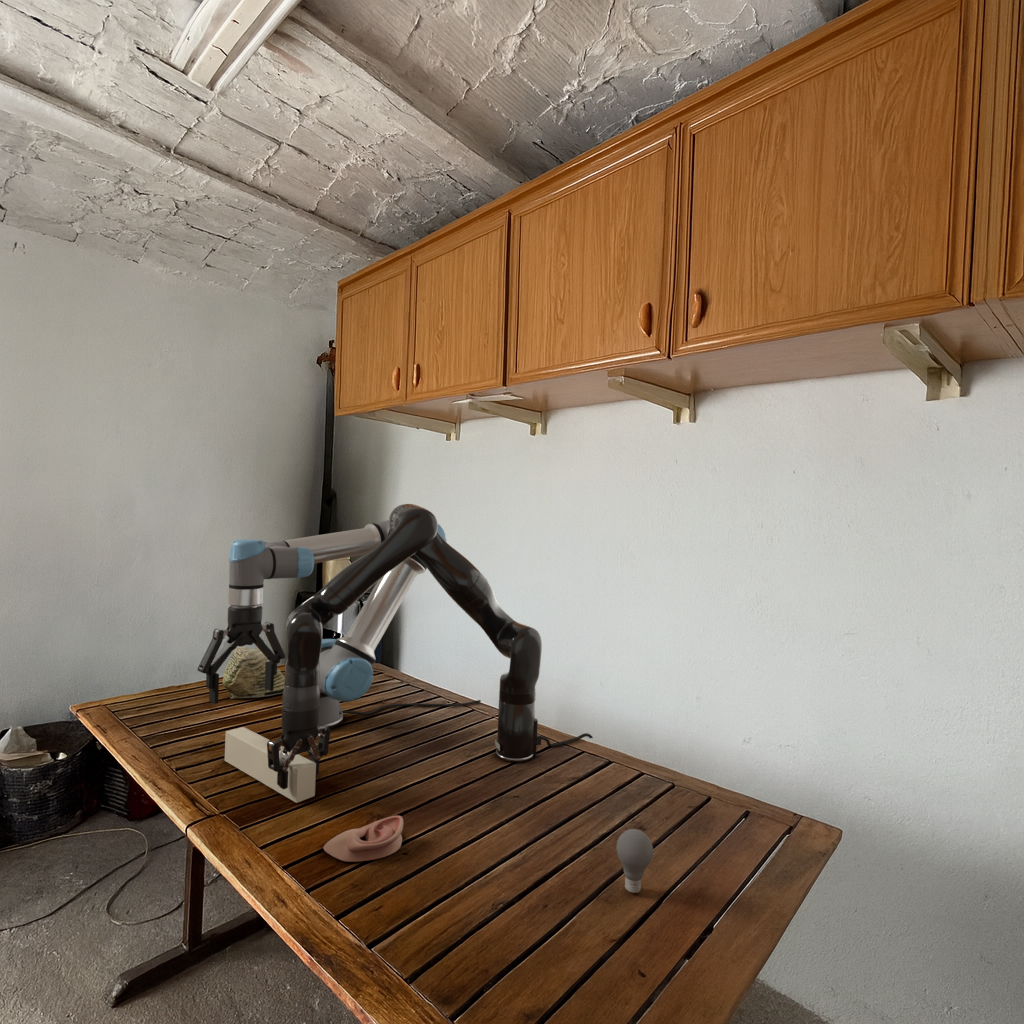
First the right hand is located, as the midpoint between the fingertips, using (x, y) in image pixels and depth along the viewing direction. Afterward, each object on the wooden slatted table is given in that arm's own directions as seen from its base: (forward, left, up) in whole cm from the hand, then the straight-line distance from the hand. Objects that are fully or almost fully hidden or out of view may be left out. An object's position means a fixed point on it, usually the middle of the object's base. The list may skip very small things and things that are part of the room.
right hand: (298, 782), depth 134 cm
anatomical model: (-8, +25, -3) cm, 26 cm away
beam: (+5, -11, -3) cm, 12 cm away
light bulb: (-45, +55, -3) cm, 72 cm away
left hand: (+10, -22, +13) cm, 27 cm away
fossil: (+2, -73, -3) cm, 73 cm away
